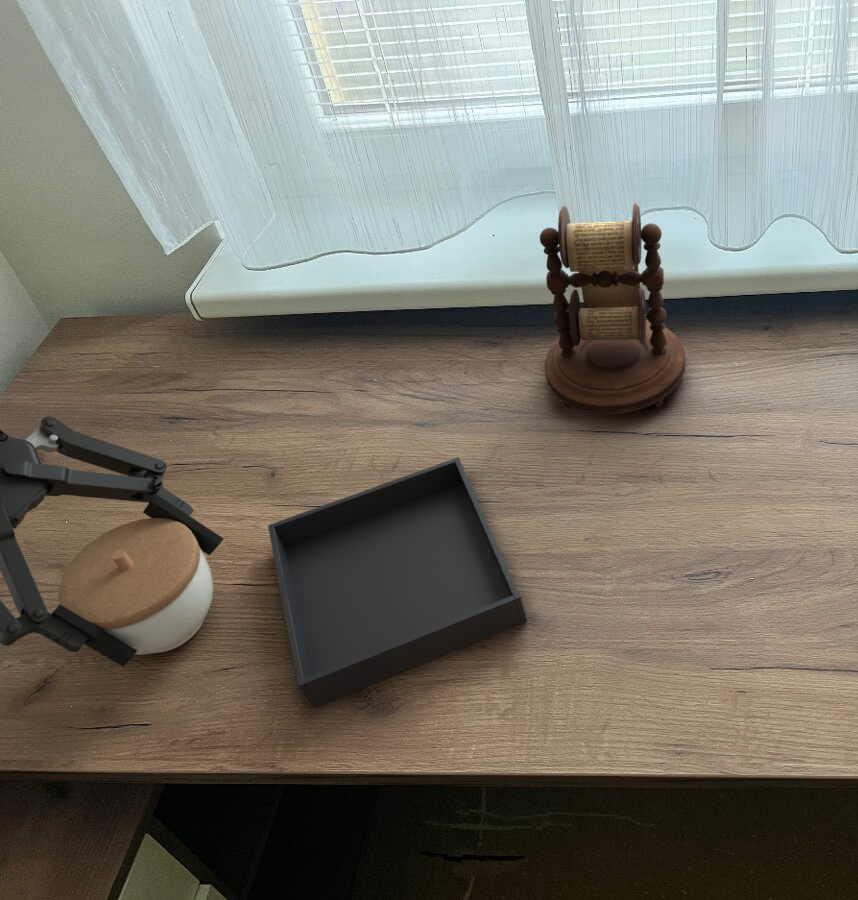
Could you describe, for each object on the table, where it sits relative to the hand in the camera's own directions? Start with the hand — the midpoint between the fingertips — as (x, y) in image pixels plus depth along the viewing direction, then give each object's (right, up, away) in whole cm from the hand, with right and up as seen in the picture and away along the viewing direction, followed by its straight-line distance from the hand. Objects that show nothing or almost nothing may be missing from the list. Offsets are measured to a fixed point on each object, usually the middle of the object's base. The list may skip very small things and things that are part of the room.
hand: (175, 600), depth 72 cm
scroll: (+37, +20, +22) cm, 47 cm away
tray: (+17, +1, +5) cm, 18 cm away
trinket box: (-2, -3, +4) cm, 5 cm away
